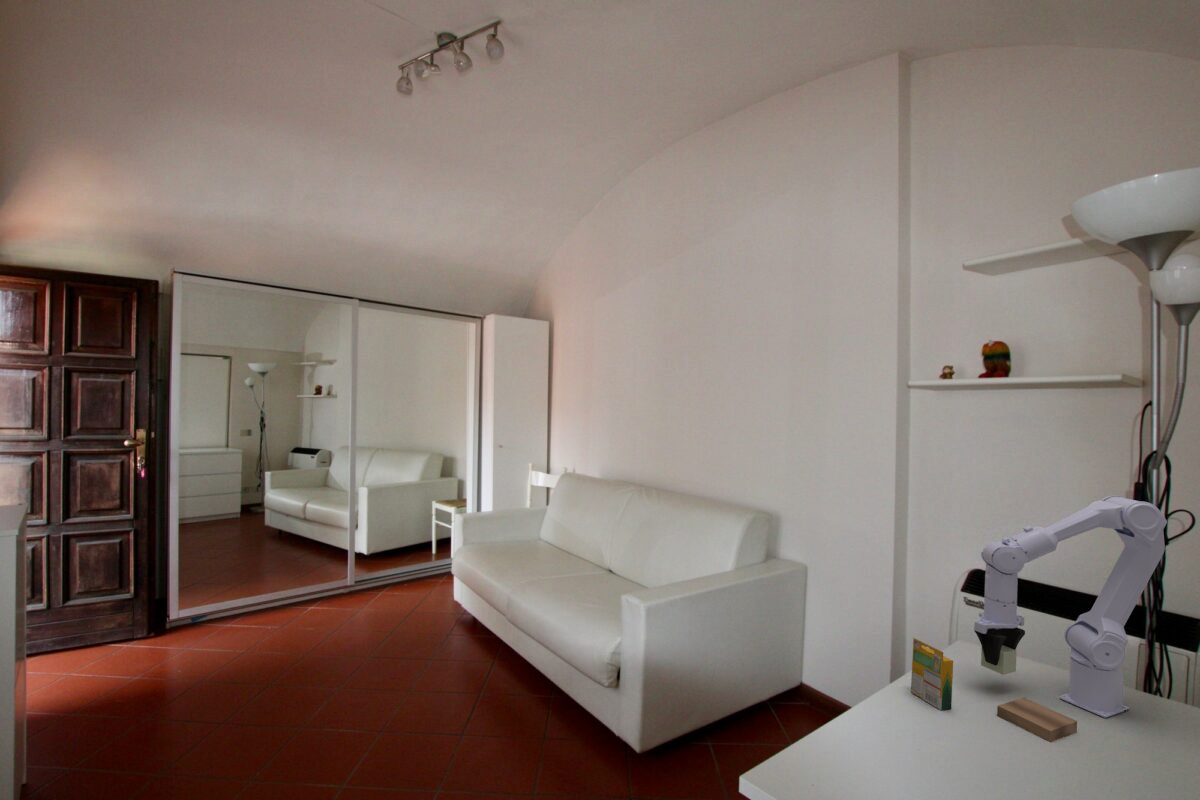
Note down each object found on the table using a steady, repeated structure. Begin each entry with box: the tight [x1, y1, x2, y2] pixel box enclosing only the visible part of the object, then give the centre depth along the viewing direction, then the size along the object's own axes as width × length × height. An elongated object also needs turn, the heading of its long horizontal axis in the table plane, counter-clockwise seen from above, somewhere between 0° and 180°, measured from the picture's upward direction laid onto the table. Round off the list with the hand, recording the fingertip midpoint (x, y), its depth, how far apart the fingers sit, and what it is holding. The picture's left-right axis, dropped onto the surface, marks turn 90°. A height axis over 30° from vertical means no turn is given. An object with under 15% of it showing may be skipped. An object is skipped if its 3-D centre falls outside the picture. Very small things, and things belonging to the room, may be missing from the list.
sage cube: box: [980, 645, 1017, 676], centre depth 119 cm, size 4×4×4 cm
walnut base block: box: [996, 697, 1078, 743], centre depth 106 cm, size 9×9×2 cm
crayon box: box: [910, 637, 954, 711], centre depth 113 cm, size 7×3×12 cm, turn 17°
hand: (998, 661), depth 119 cm, fingers closed on sage cube, 4 cm apart
